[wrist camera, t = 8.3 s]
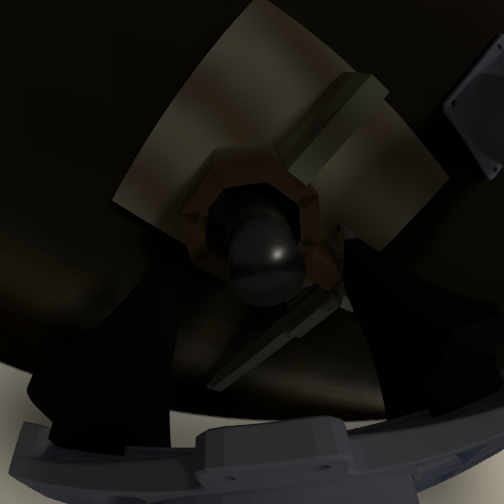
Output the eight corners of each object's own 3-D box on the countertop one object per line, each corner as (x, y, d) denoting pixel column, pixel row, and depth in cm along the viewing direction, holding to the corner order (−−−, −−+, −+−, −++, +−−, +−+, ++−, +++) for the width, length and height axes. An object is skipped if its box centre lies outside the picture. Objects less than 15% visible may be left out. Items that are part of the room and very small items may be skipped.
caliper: (337, 218, 21) (371, 274, 16) (348, 225, 21) (385, 281, 16) (205, 383, 30) (204, 438, 25) (215, 386, 30) (216, 440, 25)
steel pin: (271, 170, 18) (306, 238, 12) (274, 215, 20) (306, 300, 13) (220, 177, 18) (224, 250, 12) (226, 222, 20) (235, 311, 13)
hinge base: (257, -2, 14) (265, -25, 9) (442, 172, 20) (482, 202, 16) (116, 194, 20) (88, 231, 15) (308, 308, 26) (321, 355, 22)
